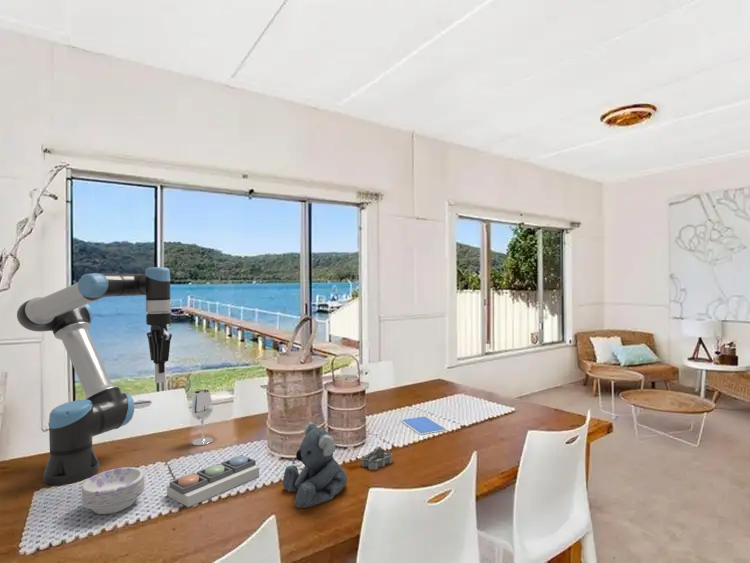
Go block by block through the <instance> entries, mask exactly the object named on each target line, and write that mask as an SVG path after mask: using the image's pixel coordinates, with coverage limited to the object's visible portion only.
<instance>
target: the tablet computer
mask: <svg viewBox="0 0 750 563" xmlns="http://www.w3.org/2000/svg"><path fill="white" fill-rule="evenodd" d="M400 422H401V423H402V424H404V425H405V426H407V427H409V428H410V429H411V430H412V431H414V432H416V434H417V435H420V436H425V435H430V434H437V433H442V432H447V428H445V427H443V426H441V425H440V424H438V423H437V422H435V421H433V420H431V419H430V418H428V417H427V416H420V417H412V418H405V419H402V420H400Z"/></svg>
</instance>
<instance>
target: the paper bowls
mask: <svg viewBox="0 0 750 563" xmlns="http://www.w3.org/2000/svg"><path fill="white" fill-rule="evenodd" d="M145 481H146V480H145V472H144V470H143V469H141V468H139V467H138V468H137V467H134V466H133V467H131V466H130V467H129V466H128V467H118V468H112V469H109V470H106V471H102V472H100V473H97V474H94V475H92V476H90V477H88V478H87V480H86V479H85V481H84V483H82V485H81V504H82V506H83V507H84V508H85V509H89V510H92V512H94V513H95V514H98V515H110V514H115V513H119V512H121V511H124V510H126V509H128V508H129V507H131V506H132V505H133V504H134V503H135V502H136V499H138V498H139V497H140V496H141V495H142V494H143V493H144V491H145V488H146V487H145V484H146V482H145Z"/></svg>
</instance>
